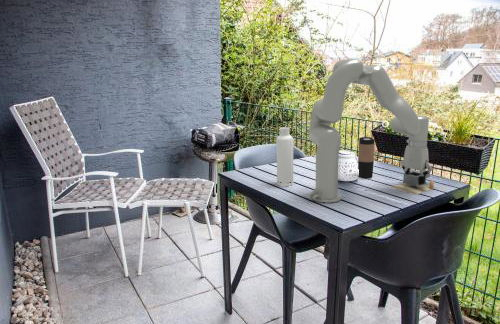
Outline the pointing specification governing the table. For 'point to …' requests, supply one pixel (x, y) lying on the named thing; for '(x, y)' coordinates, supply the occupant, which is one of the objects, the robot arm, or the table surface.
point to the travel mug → (366, 157)
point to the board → (412, 188)
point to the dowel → (431, 184)
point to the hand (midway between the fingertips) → (414, 181)
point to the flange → (413, 178)
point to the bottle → (284, 157)
